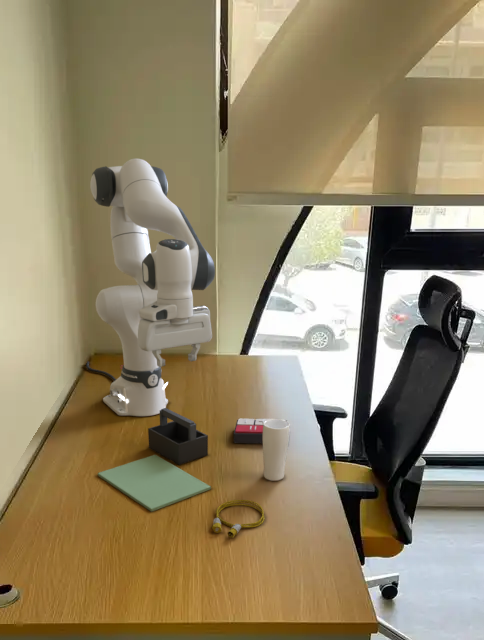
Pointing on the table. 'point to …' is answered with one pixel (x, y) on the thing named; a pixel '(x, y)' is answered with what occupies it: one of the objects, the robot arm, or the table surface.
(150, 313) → the robot arm
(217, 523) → the extension cord
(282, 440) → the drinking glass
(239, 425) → the calculator
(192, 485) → the desk mat
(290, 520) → the table surface
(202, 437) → the caddy bin
